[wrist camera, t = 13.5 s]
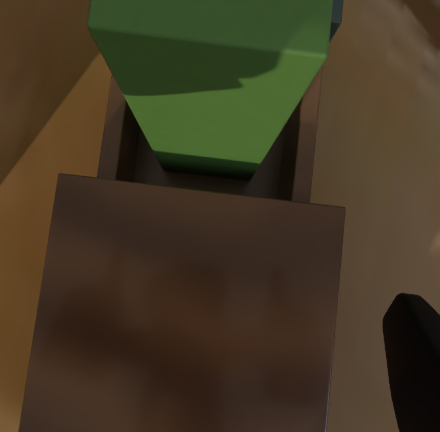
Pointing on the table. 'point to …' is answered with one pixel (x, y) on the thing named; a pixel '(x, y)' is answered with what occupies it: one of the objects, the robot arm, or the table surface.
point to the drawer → (258, 185)
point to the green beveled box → (212, 73)
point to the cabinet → (183, 312)
